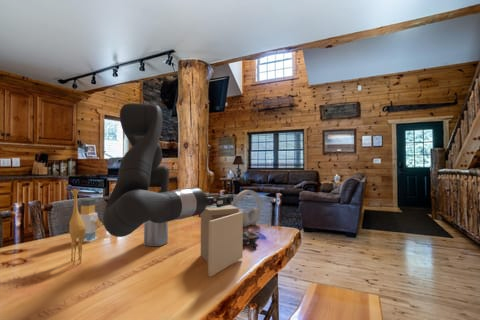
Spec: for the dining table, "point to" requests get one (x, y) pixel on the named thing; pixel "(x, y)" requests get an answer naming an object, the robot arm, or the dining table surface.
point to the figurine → (250, 238)
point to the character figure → (90, 219)
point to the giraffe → (76, 228)
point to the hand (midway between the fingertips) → (220, 196)
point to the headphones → (253, 213)
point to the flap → (225, 242)
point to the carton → (207, 216)
